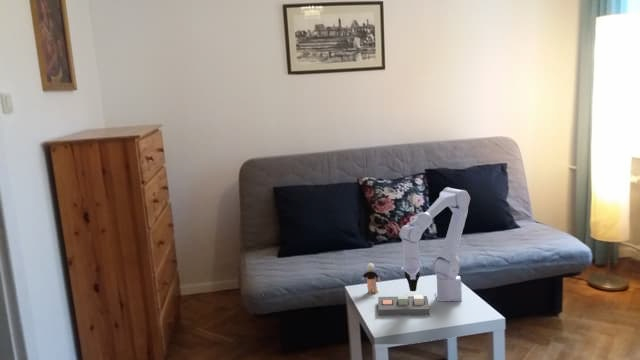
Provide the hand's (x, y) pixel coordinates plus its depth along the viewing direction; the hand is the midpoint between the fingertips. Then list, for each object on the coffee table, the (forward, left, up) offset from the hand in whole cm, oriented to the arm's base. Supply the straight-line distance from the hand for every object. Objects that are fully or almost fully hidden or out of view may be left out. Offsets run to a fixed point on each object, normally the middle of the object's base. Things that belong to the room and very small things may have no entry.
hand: (413, 290), depth 194 cm
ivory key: (-2, 0, -5) cm, 6 cm away
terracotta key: (+10, 0, -7) cm, 12 cm away
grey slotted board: (+4, 0, -7) cm, 8 cm away
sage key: (+4, 0, -5) cm, 7 cm away
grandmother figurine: (+16, -17, -8) cm, 25 cm away
